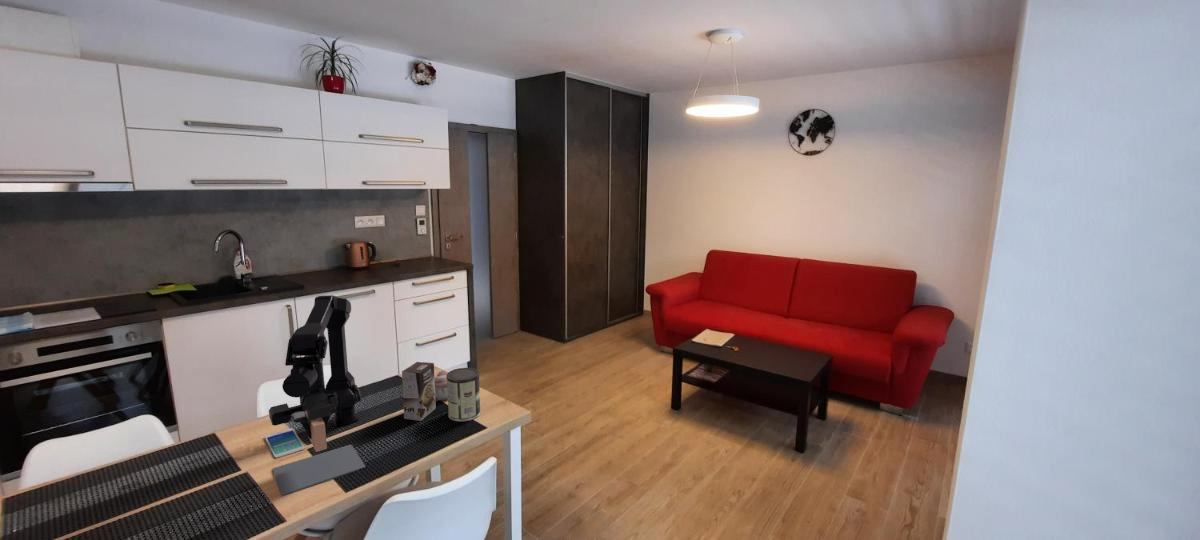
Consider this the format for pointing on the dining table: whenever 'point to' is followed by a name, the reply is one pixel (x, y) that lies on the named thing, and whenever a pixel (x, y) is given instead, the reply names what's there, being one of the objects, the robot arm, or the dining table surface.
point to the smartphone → (284, 443)
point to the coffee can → (463, 394)
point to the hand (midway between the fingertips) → (316, 436)
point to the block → (317, 433)
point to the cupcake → (441, 385)
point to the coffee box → (418, 390)
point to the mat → (317, 469)
